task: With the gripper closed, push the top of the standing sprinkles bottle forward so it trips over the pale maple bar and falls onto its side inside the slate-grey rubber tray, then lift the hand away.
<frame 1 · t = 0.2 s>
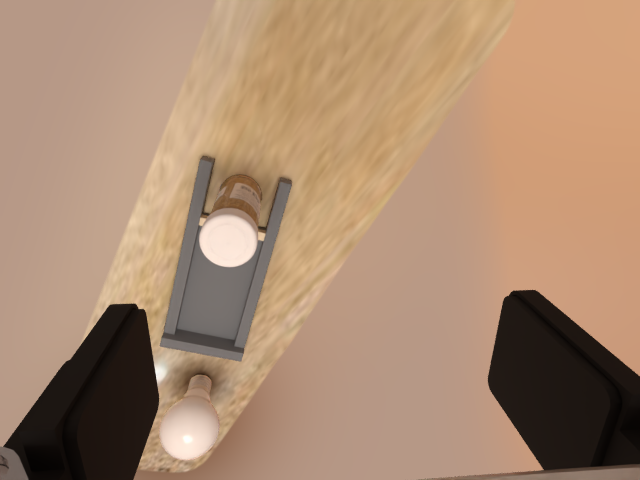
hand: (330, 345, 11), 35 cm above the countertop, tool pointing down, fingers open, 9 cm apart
tray: (224, 260, 48), on the countertop
sprinkles bottle: (241, 194, 45), on the countertop
lightbulb: (201, 378, 54), on the countertop
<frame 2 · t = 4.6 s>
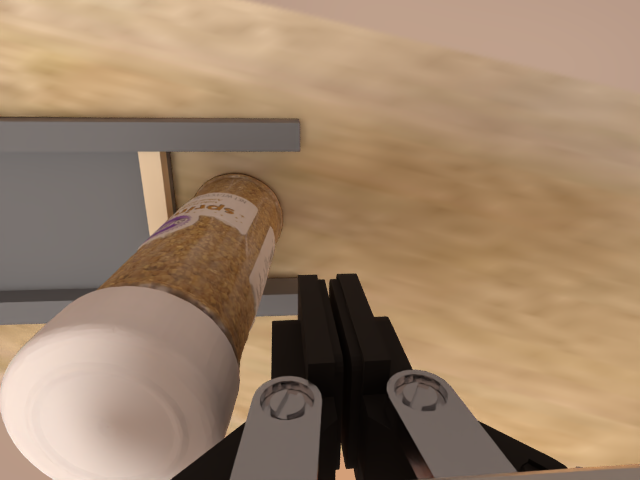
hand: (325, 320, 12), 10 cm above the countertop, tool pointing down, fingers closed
tray: (70, 218, 20), on the countertop
sprinkles bottle: (238, 216, 21), on the countertop
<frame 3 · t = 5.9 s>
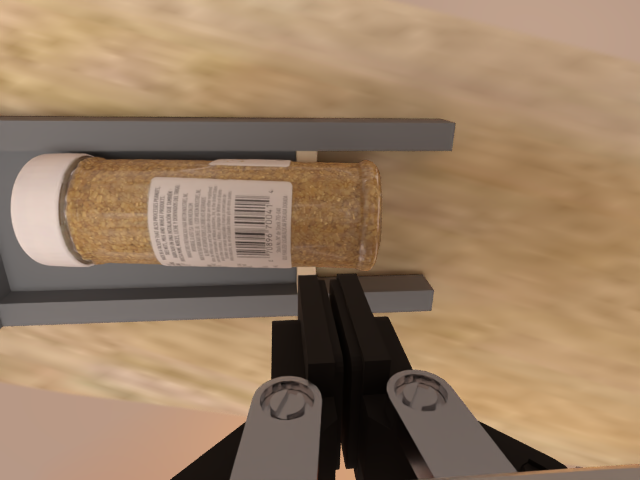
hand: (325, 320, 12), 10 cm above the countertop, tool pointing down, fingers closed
tray: (212, 216, 21), on the countertop
sprinkles bottle: (380, 217, 17), point 4 cm above the countertop, touching tray
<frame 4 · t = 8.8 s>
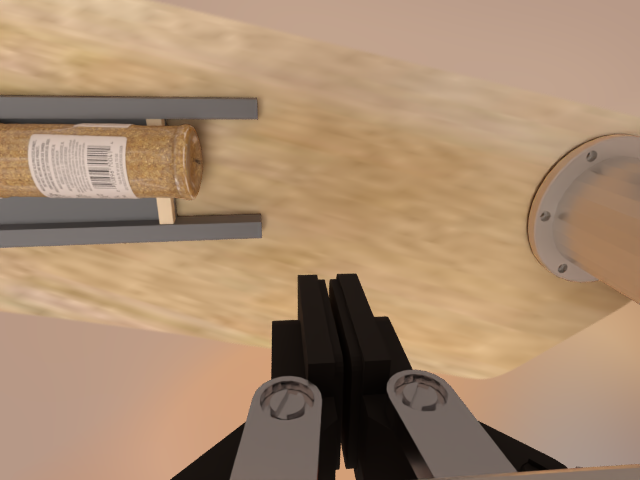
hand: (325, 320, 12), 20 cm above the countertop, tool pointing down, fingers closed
tray: (94, 169, 28), on the countertop
sprinkles bottle: (199, 163, 25), point 4 cm above the countertop, touching tray
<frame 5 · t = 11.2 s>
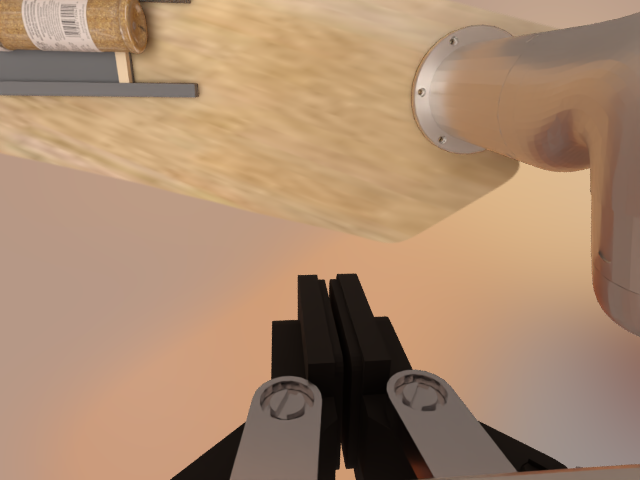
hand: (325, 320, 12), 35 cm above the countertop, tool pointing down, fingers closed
tray: (73, 41, 39), on the countertop
sprinkles bottle: (141, 25, 36), point 4 cm above the countertop, touching tray
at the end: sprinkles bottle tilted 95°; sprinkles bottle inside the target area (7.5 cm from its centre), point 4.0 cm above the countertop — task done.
